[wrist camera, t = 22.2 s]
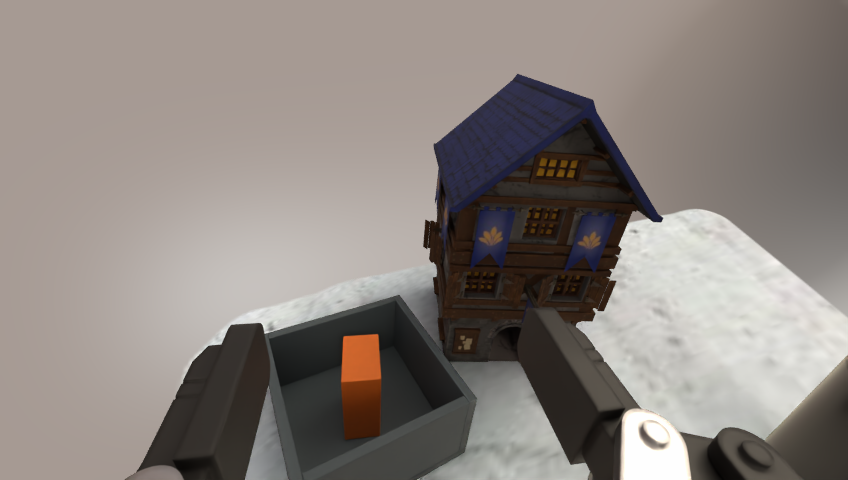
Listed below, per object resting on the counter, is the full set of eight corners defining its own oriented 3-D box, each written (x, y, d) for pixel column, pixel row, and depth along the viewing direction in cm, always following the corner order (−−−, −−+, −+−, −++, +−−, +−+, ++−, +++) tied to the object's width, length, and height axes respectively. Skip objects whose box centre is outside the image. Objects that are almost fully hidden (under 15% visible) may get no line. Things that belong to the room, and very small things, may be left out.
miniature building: (422, 393, 37) (456, 92, 22) (416, 276, 56) (433, 66, 41) (592, 395, 39) (732, 113, 24) (533, 280, 57) (591, 79, 42)
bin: (396, 344, 43) (399, 294, 39) (464, 452, 32) (477, 398, 29) (270, 389, 37) (258, 335, 33) (303, 544, 26) (291, 491, 22)
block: (377, 389, 37) (378, 333, 33) (380, 436, 32) (381, 378, 28) (346, 392, 36) (343, 335, 32) (344, 440, 32) (340, 382, 28)
